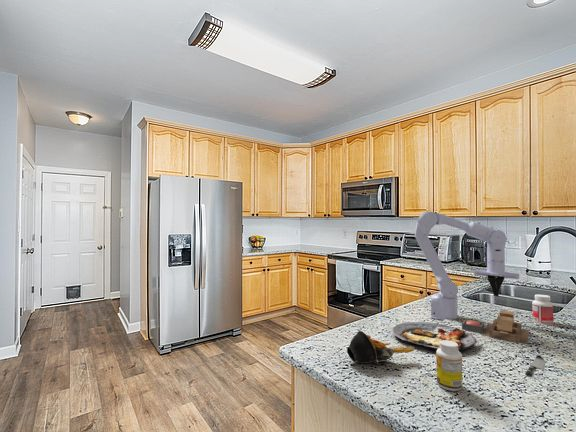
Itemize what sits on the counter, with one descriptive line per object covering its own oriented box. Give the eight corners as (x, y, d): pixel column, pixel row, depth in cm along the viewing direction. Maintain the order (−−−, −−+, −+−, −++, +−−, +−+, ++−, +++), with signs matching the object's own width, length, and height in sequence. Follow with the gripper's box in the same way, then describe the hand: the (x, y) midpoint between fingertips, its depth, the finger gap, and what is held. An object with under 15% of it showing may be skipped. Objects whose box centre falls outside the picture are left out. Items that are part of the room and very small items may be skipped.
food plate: (483, 338, 104) (483, 328, 104) (465, 362, 87) (464, 350, 87) (409, 323, 121) (408, 314, 121) (381, 341, 104) (381, 331, 104)
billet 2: (497, 336, 104) (497, 318, 104) (498, 333, 107) (498, 315, 107) (511, 339, 101) (511, 320, 101) (512, 335, 104) (512, 317, 104)
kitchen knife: (551, 358, 91) (538, 354, 93) (551, 354, 91) (538, 351, 93) (539, 381, 78) (524, 376, 80) (539, 377, 78) (524, 371, 80)
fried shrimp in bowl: (337, 339, 92) (387, 314, 97) (355, 378, 89) (405, 349, 94) (348, 339, 83) (401, 311, 89) (368, 381, 80) (422, 350, 86)
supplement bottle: (440, 377, 79) (439, 337, 79) (464, 385, 75) (464, 342, 75) (433, 386, 75) (433, 343, 75) (459, 395, 71) (459, 349, 71)
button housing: (462, 331, 111) (461, 323, 111) (465, 327, 116) (465, 319, 116) (481, 335, 107) (481, 327, 107) (484, 330, 112) (484, 322, 112)
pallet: (482, 338, 105) (482, 328, 105) (488, 325, 117) (488, 317, 117) (527, 347, 97) (527, 337, 97) (528, 332, 110) (528, 323, 110)
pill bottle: (556, 325, 117) (555, 296, 117) (550, 328, 114) (549, 298, 114) (536, 321, 123) (535, 293, 123) (529, 324, 119) (529, 295, 119)
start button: (465, 331, 111) (464, 322, 111) (467, 327, 114) (467, 319, 114) (479, 333, 108) (479, 325, 108) (481, 330, 112) (481, 321, 112)
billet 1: (499, 329, 110) (499, 312, 110) (500, 326, 113) (500, 310, 113) (513, 332, 108) (513, 314, 108) (514, 329, 111) (514, 312, 111)
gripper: (472, 260, 122) (472, 294, 122) (518, 263, 113) (518, 300, 113) (475, 258, 128) (475, 291, 128) (519, 261, 119) (519, 297, 119)
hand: (496, 295), depth 121 cm, fingers closed
